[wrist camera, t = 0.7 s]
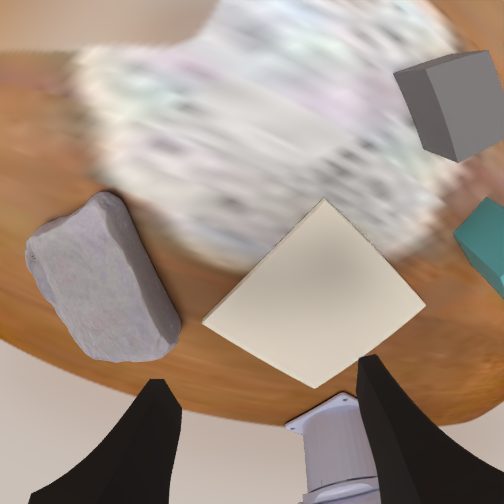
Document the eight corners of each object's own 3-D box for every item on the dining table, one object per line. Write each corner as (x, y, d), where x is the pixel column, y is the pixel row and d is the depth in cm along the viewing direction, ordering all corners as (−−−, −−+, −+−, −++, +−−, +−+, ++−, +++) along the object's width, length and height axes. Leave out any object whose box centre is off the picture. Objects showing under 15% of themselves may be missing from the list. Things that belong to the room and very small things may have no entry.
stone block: (109, 329, 26) (197, 327, 22) (81, 364, 21) (172, 374, 18) (48, 215, 21) (130, 177, 17) (7, 241, 17) (79, 205, 13)
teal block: (502, 231, 18) (547, 269, 13) (471, 265, 19) (512, 309, 14) (486, 197, 17) (538, 231, 11) (452, 233, 18) (500, 277, 13)
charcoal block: (475, 124, 15) (514, 134, 11) (422, 148, 16) (458, 163, 12) (450, 54, 13) (488, 50, 9) (392, 73, 14) (425, 69, 10)
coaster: (423, 301, 21) (426, 305, 20) (313, 383, 25) (314, 388, 25) (324, 197, 17) (326, 200, 17) (203, 318, 22) (201, 323, 21)
